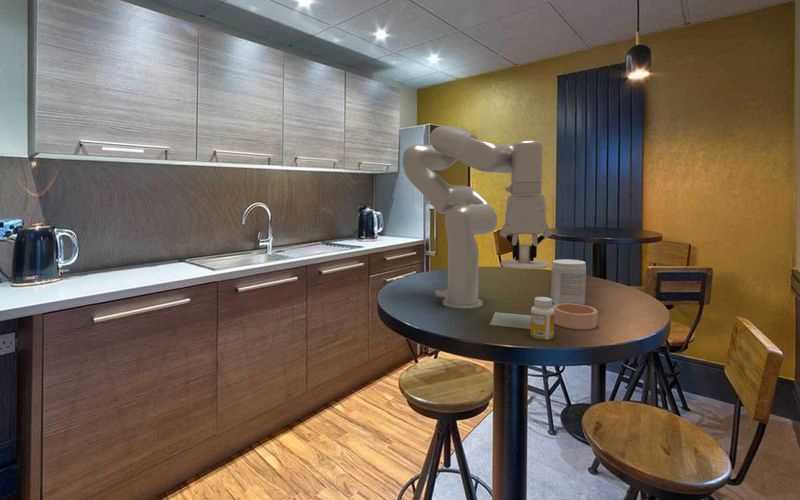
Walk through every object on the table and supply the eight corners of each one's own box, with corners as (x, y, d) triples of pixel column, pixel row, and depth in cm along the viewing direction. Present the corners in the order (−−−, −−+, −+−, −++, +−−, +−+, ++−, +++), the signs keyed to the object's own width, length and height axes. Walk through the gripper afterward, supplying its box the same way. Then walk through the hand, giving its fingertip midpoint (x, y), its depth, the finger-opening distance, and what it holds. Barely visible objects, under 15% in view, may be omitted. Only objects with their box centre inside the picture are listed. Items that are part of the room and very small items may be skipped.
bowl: (553, 328, 101) (553, 312, 101) (552, 317, 111) (553, 302, 110) (598, 333, 97) (599, 316, 97) (593, 321, 107) (594, 305, 107)
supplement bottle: (546, 333, 98) (548, 295, 97) (557, 341, 93) (559, 301, 91) (526, 334, 97) (527, 296, 96) (536, 342, 92) (537, 301, 91)
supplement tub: (590, 310, 118) (593, 261, 116) (572, 315, 113) (574, 265, 111) (562, 303, 126) (564, 258, 124) (543, 307, 121) (545, 260, 119)
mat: (489, 326, 103) (489, 324, 103) (495, 314, 114) (495, 312, 114) (537, 331, 99) (537, 329, 99) (538, 318, 110) (538, 316, 110)
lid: (498, 267, 101) (498, 246, 100) (504, 261, 112) (504, 242, 111) (547, 269, 96) (548, 248, 96) (548, 262, 107) (549, 243, 107)
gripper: (491, 190, 101) (491, 261, 103) (560, 189, 95) (557, 263, 97) (496, 191, 108) (495, 257, 110) (560, 189, 102) (557, 259, 104)
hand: (524, 259), depth 104 cm, fingers closed on lid, 3 cm apart
